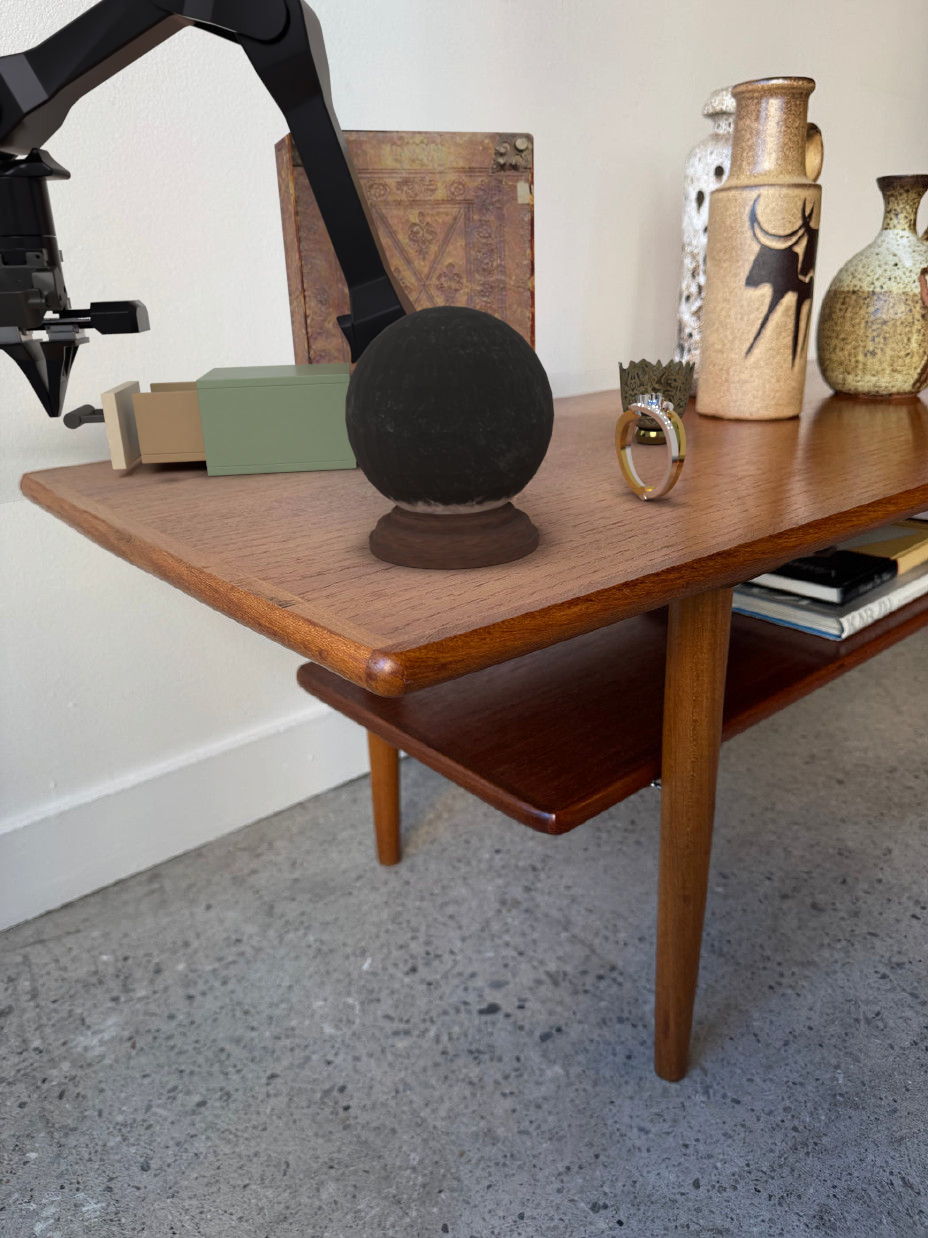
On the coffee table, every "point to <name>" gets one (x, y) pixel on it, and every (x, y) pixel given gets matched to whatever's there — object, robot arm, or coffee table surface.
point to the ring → (673, 437)
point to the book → (417, 230)
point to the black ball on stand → (450, 436)
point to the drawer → (147, 423)
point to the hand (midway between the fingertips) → (55, 416)
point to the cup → (655, 379)
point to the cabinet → (275, 418)
